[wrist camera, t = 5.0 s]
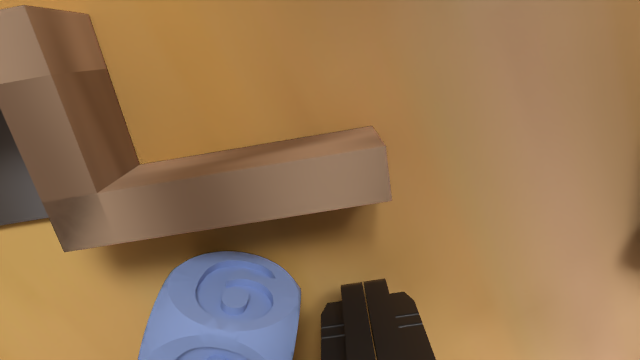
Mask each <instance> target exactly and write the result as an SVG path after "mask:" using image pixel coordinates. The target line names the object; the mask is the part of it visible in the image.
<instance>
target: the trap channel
mask: <svg viewBox="0 0 640 360" xmlns="http://www.w3.org/2000/svg"><path fill="white" fill-rule="evenodd" d="M388 201H392V196H391V187H390V179H389V170H388V161H387V153H386V145H385V144H384V142H383V141H382V140H381V138H380V137H379V135H378V134H377V132H376V131H375V129H374V128H373V126H368V127H362V128H356V129H350V130H344V131H338V132H333V133H327V134H321V135H315V136H309V137H303V138H297V139H291V140H285V141H279V142H273V143H267V144H261V145H255V146H249V147H243V148H237V149H231V150H225V151H219V152H213V153H207V154H201V155H195V156H189V157H183V158H177V159H171V160H165V161H159V162H153V163H147V164H141V165H139V162H138V159H137V156H136V153H135V150H134V147H133V144H132V141H131V138H130V135H129V132H128V129H127V126H126V123H125V120H124V118H123V115H122V112H121V109H120V106H119V103H118V100H117V97H116V94H115V91H114V88H113V85H112V82H111V79H110V76H109V73H108V71H107V68H106V65H105V62H104V59H103V56H102V53H101V50H100V47H99V44H98V41H97V38H96V35H95V32H94V29H93V27H92V24H91V21H90V18H89V15H88V14H84V13H77V12H70V11H63V10H55V9H48V8H41V7H34V6H26V5H22V6H17V7H12V8H7V9H1V10H0V225H6V224H12V223H18V222H24V221H30V220H37V219H43V218H49V219H50V222H51V224H52V226H53V228H54V231H55V233H56V235H57V237H58V240H59V242H60V244H61V246H62V249H63V251H64V252H69V251H75V250H82V249H88V248H94V247H101V246H107V245H114V244H120V243H126V242H133V241H139V240H145V239H152V238H158V237H165V236H171V235H177V234H184V233H190V232H196V231H203V230H209V229H216V228H222V227H228V226H235V225H241V224H247V223H254V222H260V221H267V220H273V219H279V218H286V217H292V216H298V215H305V214H311V213H318V212H324V211H330V210H337V209H343V208H349V207H356V206H362V205H369V204H375V203H381V202H388Z"/></svg>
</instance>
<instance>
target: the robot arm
mask: <svg viewBox="0 0 640 360" xmlns="http://www.w3.org/2000/svg"><path fill="white" fill-rule="evenodd" d="M364 287H365V293H366V299H367V306H368V312H369V318H370V324H371V330H372V335H373V341H374V346H375V352H376V357H377V360H436V359H435V356H434V353H433V351H432V348H431V345H430V342H429V340H428V337H427V334H426V332H425V329H424V326H423V324H422V321H421V318H420V315H419V313H418V310H417V307H416V304H415V302H414V300H413V299H412V298H410V297H409V296H408V295H407V294H406V293H405V292H398V293H392V294H389V291H388V287H387V283H386V280H385V279H379V280H372V281H366V282H364ZM341 295H342V301H339V302H332V303H327V305H326V307H325V308H324V310H323V312H322V314H321V339H322V340H321V360H376V359H375V353H374V348H373V342H372V336H371V331H370V325H369V319H368V314H367V308H366V302H365V297H364V291H363V285H362V282H360V283H353V284H346V285H341Z"/></svg>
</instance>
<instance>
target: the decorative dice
mask: <svg viewBox="0 0 640 360" xmlns="http://www.w3.org/2000/svg"><path fill="white" fill-rule="evenodd" d="M300 303H301V288H300V287H299V286H298V284H297V283H296V282H295V280H294V279H293V278H292V277H291V276H290V275H289V273H288V272H287V271H286V270H284V269H283V268H282V267H281V266H279V265H278V264H276V263H274V262H272V261H270V260H268V259H266V258H263V257H260V256H257V255H254V254H249V253H244V252H236V251H219V252H211V253H206V254H202V255H199V256H196V257H193V258H191V259H189V260H187V261H185V262H184V263H182V264H181V265H179V266H177V267H176V268H174V269H173V270H172V272H171V273H170V274H169V276H168V277H167V279H166V280H165V282H164V284H163V286H162V288H161V290H160V292H159V294H158V296H157V299H156V301H155V304H154V306H153V309H152V311H151V314H150V317H149V320H148V323H147V326H146V329H145V333H144V336H143V340H142V344H141V348H140V352H139V357H138V360H293V354H294V348H295V342H296V336H297V329H298V321H299V313H300Z"/></svg>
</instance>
